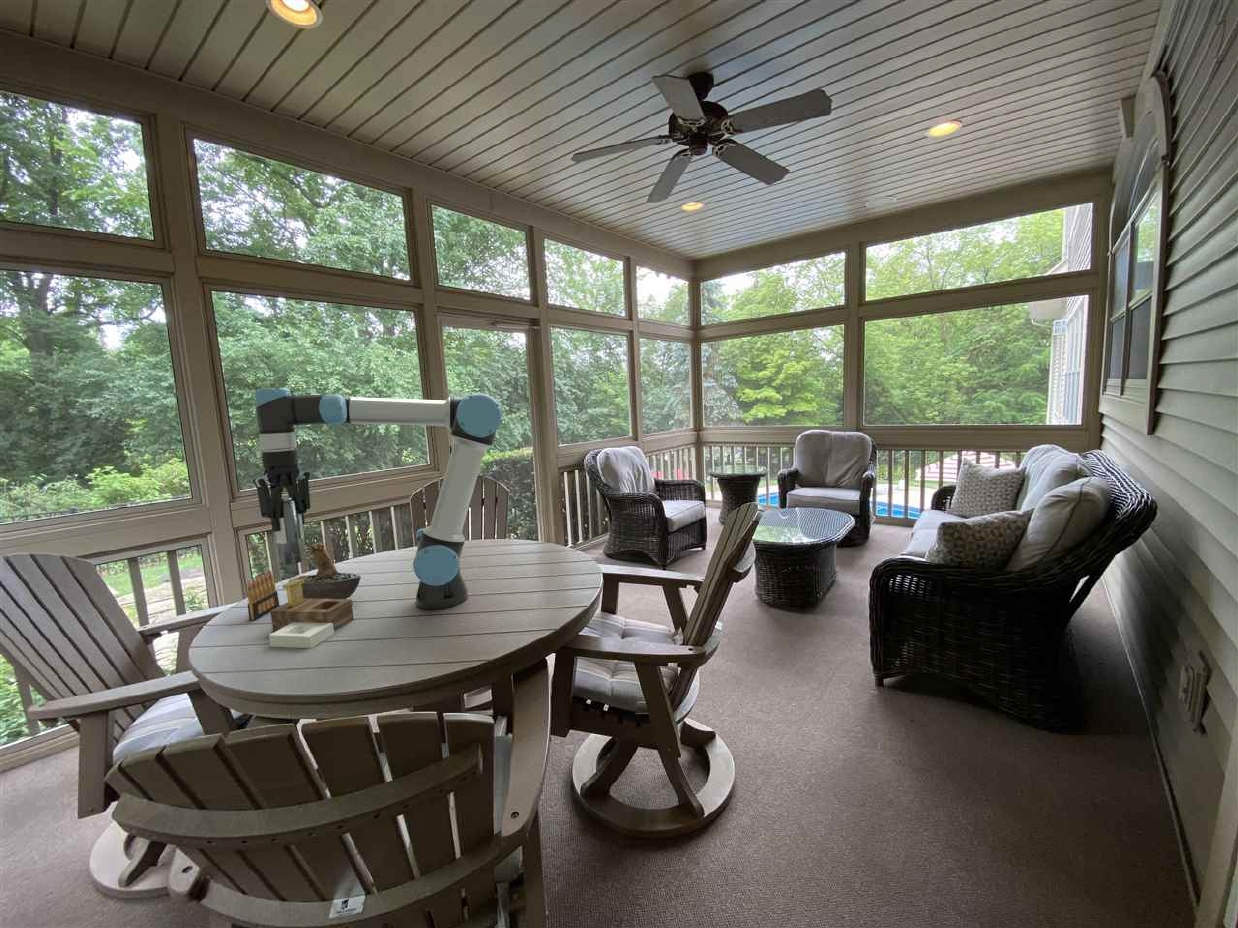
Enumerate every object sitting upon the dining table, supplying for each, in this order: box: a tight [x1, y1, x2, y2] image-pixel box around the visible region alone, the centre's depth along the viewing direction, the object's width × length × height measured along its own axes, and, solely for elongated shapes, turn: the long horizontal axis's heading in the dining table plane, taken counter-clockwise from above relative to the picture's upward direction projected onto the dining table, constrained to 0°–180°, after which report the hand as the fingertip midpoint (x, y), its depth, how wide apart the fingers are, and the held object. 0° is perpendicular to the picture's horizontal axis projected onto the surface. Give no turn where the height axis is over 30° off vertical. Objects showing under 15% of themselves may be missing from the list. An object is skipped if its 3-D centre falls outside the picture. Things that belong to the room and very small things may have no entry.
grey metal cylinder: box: [280, 496, 303, 565], centre depth 130 cm, size 4×4×17 cm
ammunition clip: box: [247, 569, 280, 622], centre depth 153 cm, size 11×2×12 cm, turn 0°
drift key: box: [282, 579, 305, 608], centre depth 142 cm, size 2×5×10 cm, turn 170°
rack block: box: [268, 622, 335, 649], centre depth 133 cm, size 12×8×3 cm, turn 80°
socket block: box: [269, 598, 355, 633], centre depth 142 cm, size 18×9×6 cm, turn 80°
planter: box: [288, 541, 362, 599], centre depth 157 cm, size 15×17×20 cm
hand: (290, 540), depth 131 cm, fingers closed on grey metal cylinder, 4 cm apart
